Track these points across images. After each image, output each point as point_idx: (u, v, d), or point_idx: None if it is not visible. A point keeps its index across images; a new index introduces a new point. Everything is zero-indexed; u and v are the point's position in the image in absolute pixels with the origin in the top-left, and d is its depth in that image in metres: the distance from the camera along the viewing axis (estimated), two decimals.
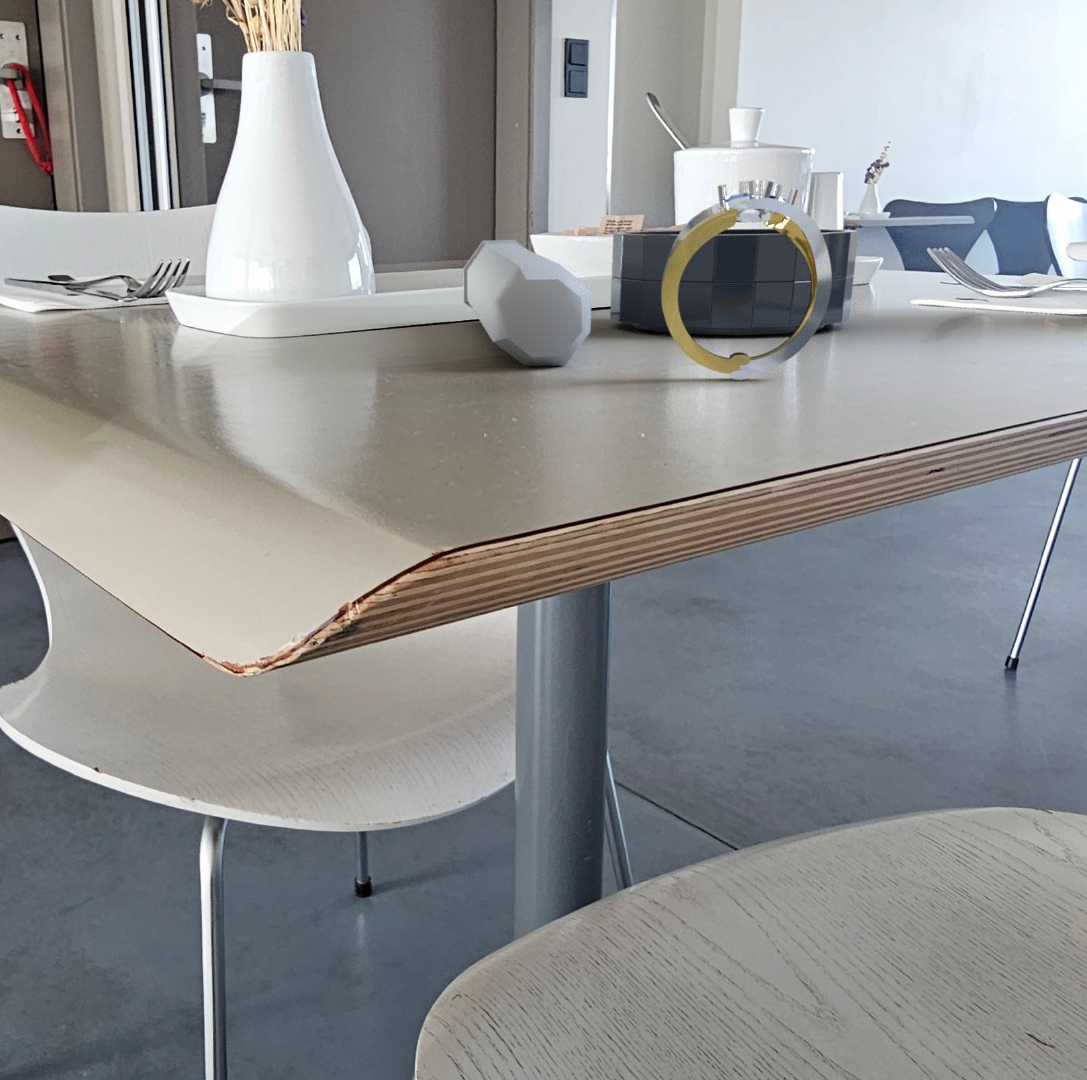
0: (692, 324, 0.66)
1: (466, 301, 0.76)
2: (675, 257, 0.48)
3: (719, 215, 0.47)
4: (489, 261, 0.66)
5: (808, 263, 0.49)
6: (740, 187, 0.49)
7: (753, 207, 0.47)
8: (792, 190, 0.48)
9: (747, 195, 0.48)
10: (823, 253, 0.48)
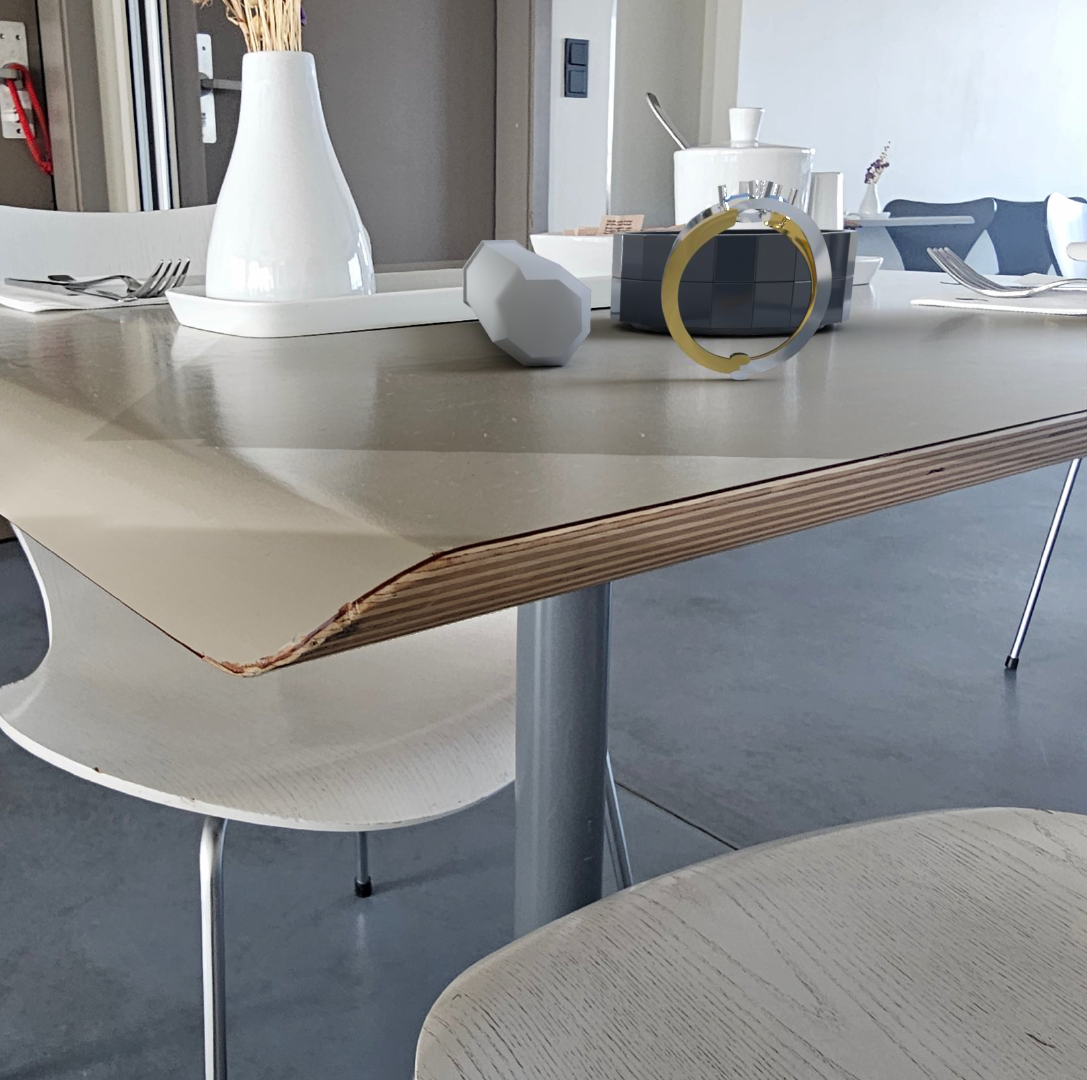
0: (692, 324, 0.66)
1: (465, 301, 0.76)
2: (675, 257, 0.48)
3: (719, 215, 0.47)
4: (488, 261, 0.66)
5: (808, 263, 0.49)
6: (740, 187, 0.49)
7: (753, 207, 0.47)
8: (792, 190, 0.48)
9: (747, 195, 0.48)
10: (823, 253, 0.48)
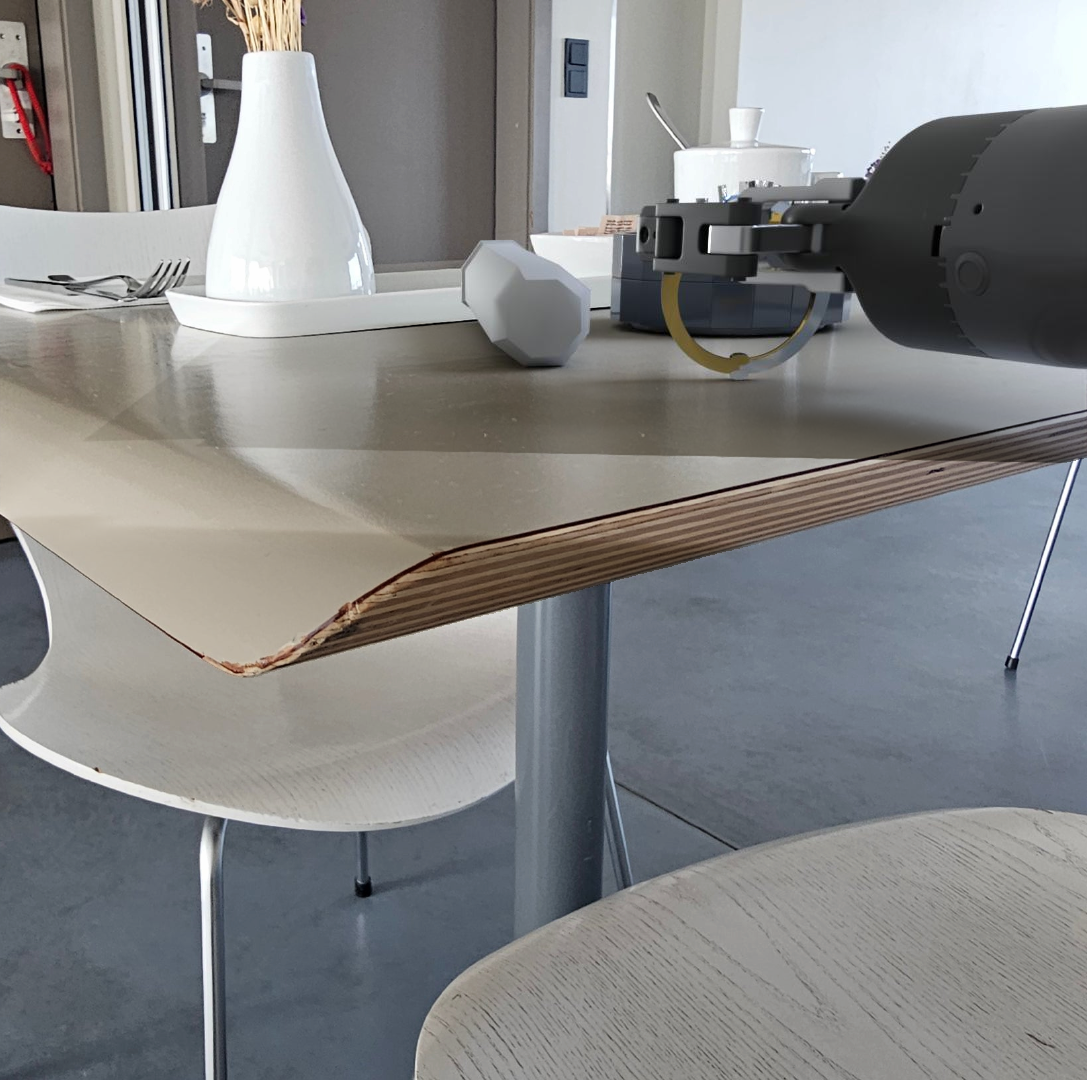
0: (692, 324, 0.66)
1: (464, 301, 0.76)
2: None
3: None
4: (487, 261, 0.66)
5: None
6: (740, 187, 0.49)
7: None
8: None
9: None
10: None
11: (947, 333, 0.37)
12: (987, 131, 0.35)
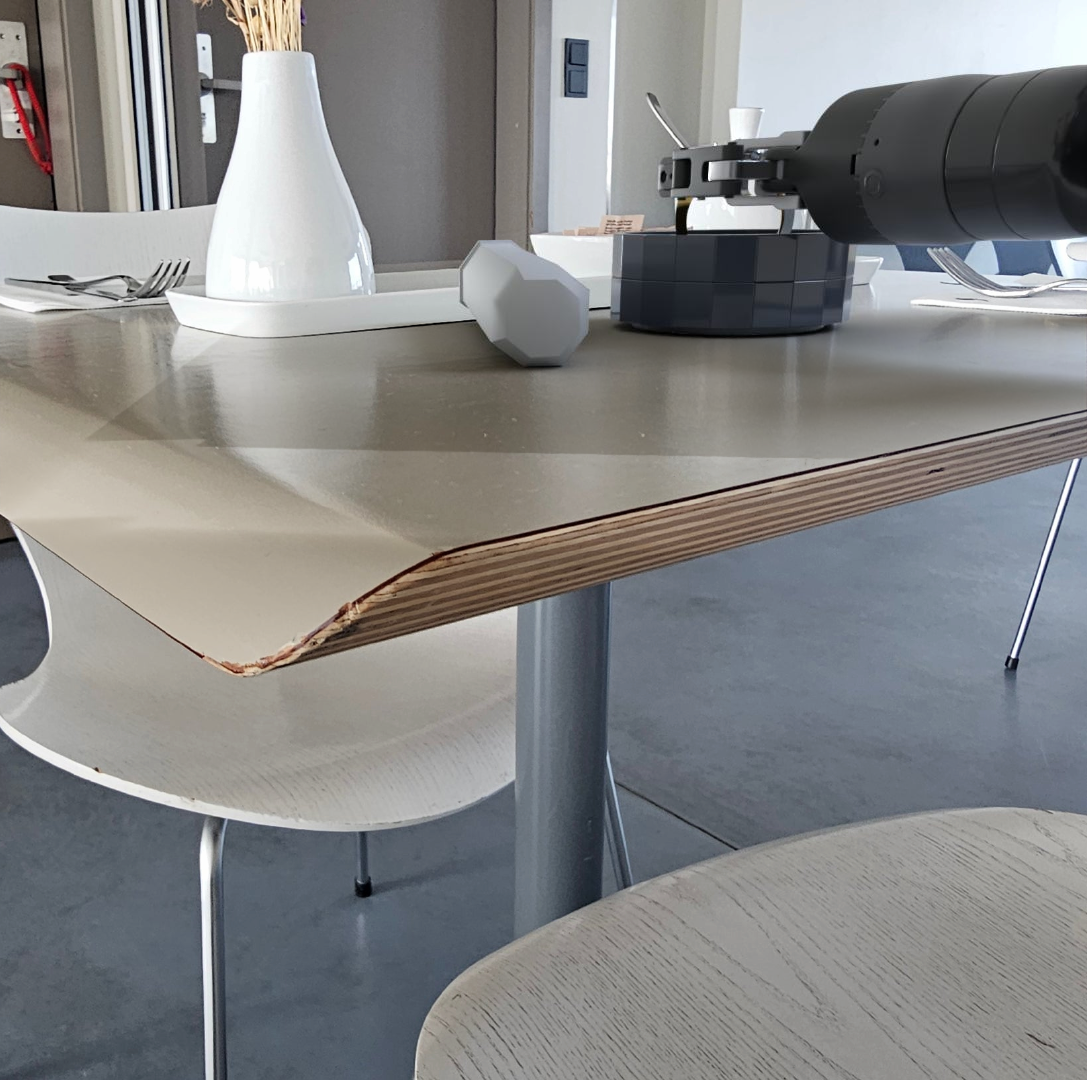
0: (692, 324, 0.66)
1: (462, 301, 0.76)
2: None
3: None
4: (485, 261, 0.66)
5: None
6: None
7: None
8: None
9: None
10: None
11: (863, 226, 0.58)
12: (884, 95, 0.56)
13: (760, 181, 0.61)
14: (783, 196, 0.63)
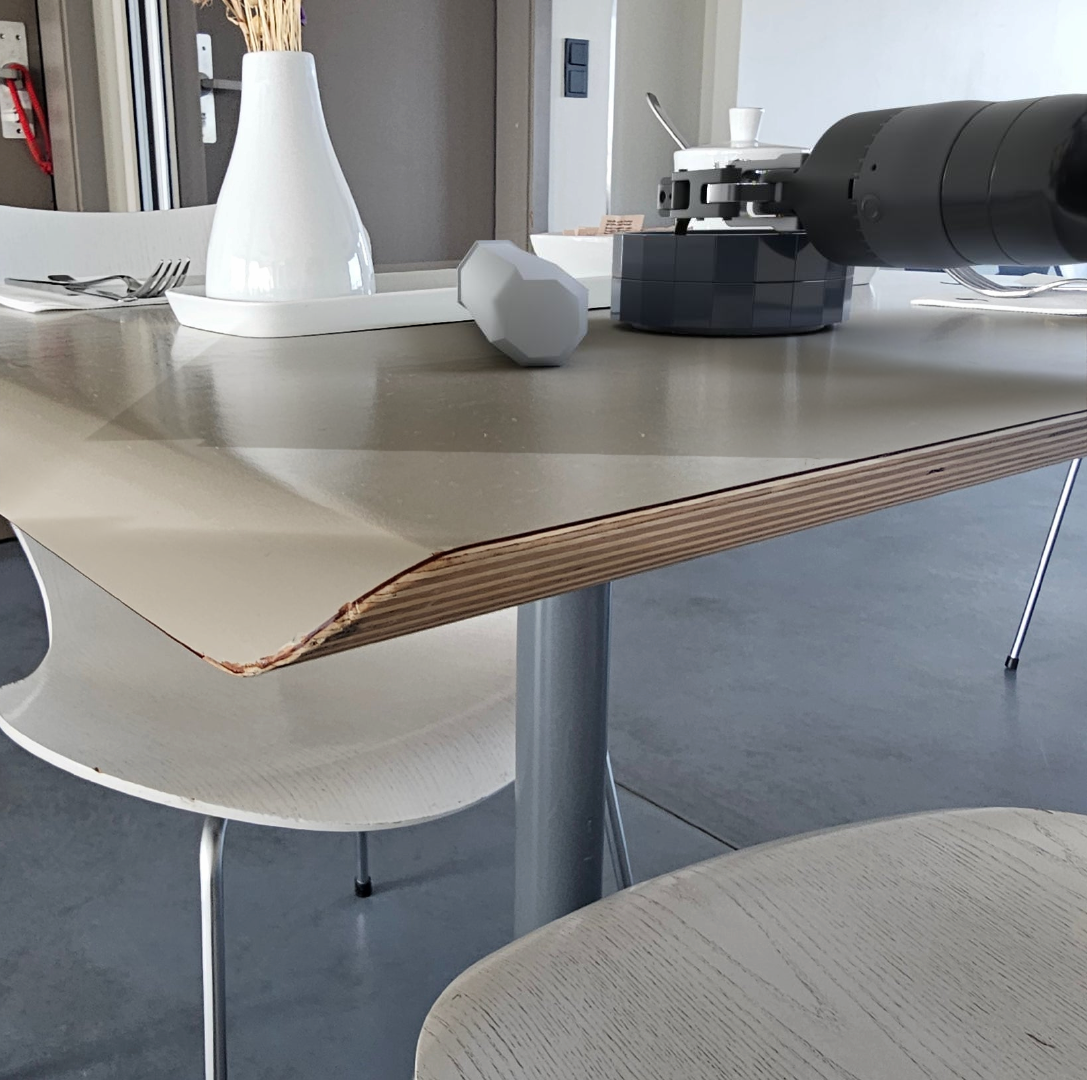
0: (692, 324, 0.66)
1: (460, 301, 0.76)
2: None
3: None
4: (484, 261, 0.66)
5: None
6: (729, 164, 0.70)
7: None
8: None
9: None
10: None
11: (860, 249, 0.58)
12: (881, 120, 0.56)
13: (758, 203, 0.62)
14: (781, 217, 0.63)
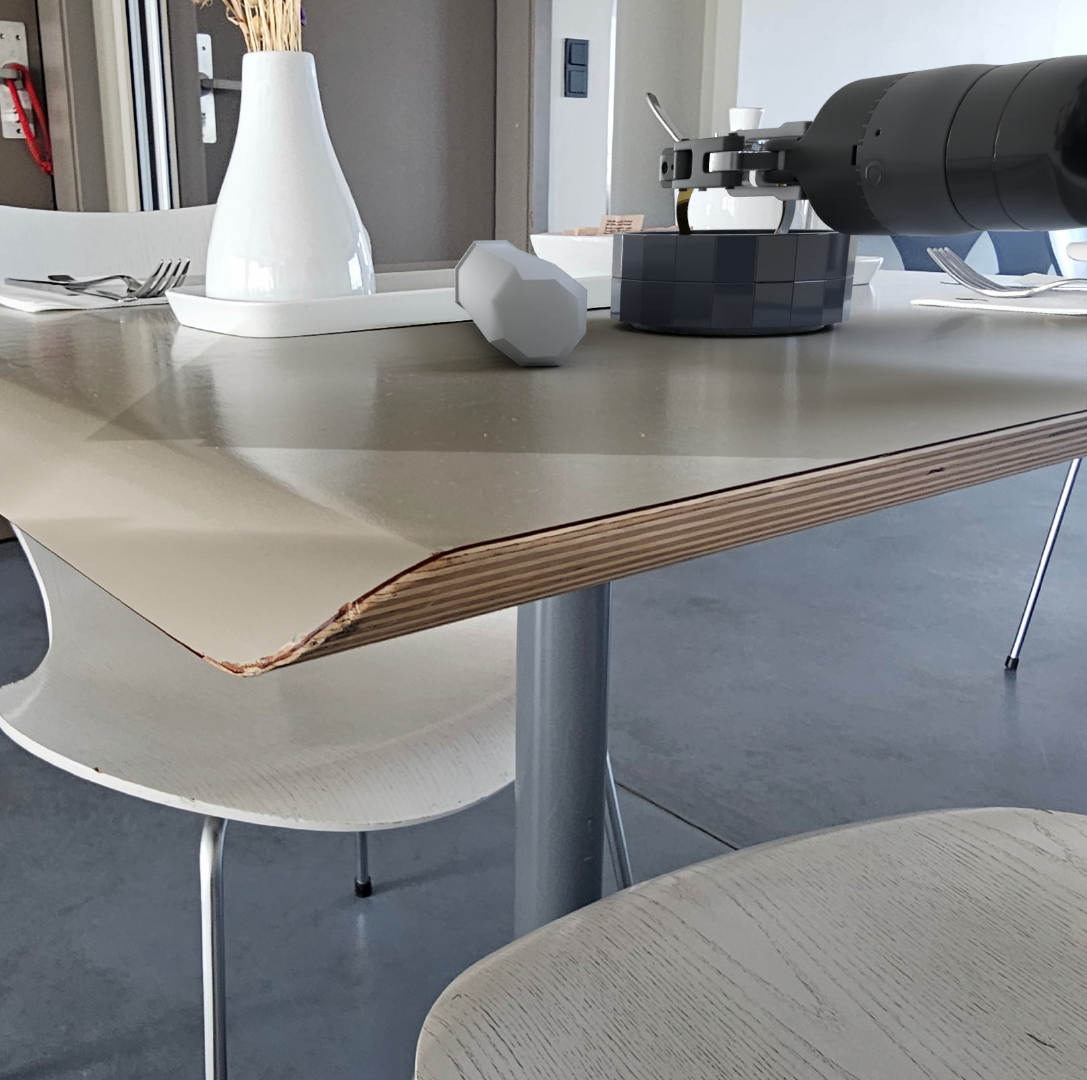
0: (692, 324, 0.66)
1: (457, 301, 0.76)
2: None
3: None
4: (482, 261, 0.66)
5: None
6: None
7: None
8: None
9: None
10: None
11: (864, 217, 0.58)
12: (885, 85, 0.56)
13: (761, 172, 0.61)
14: (784, 187, 0.63)
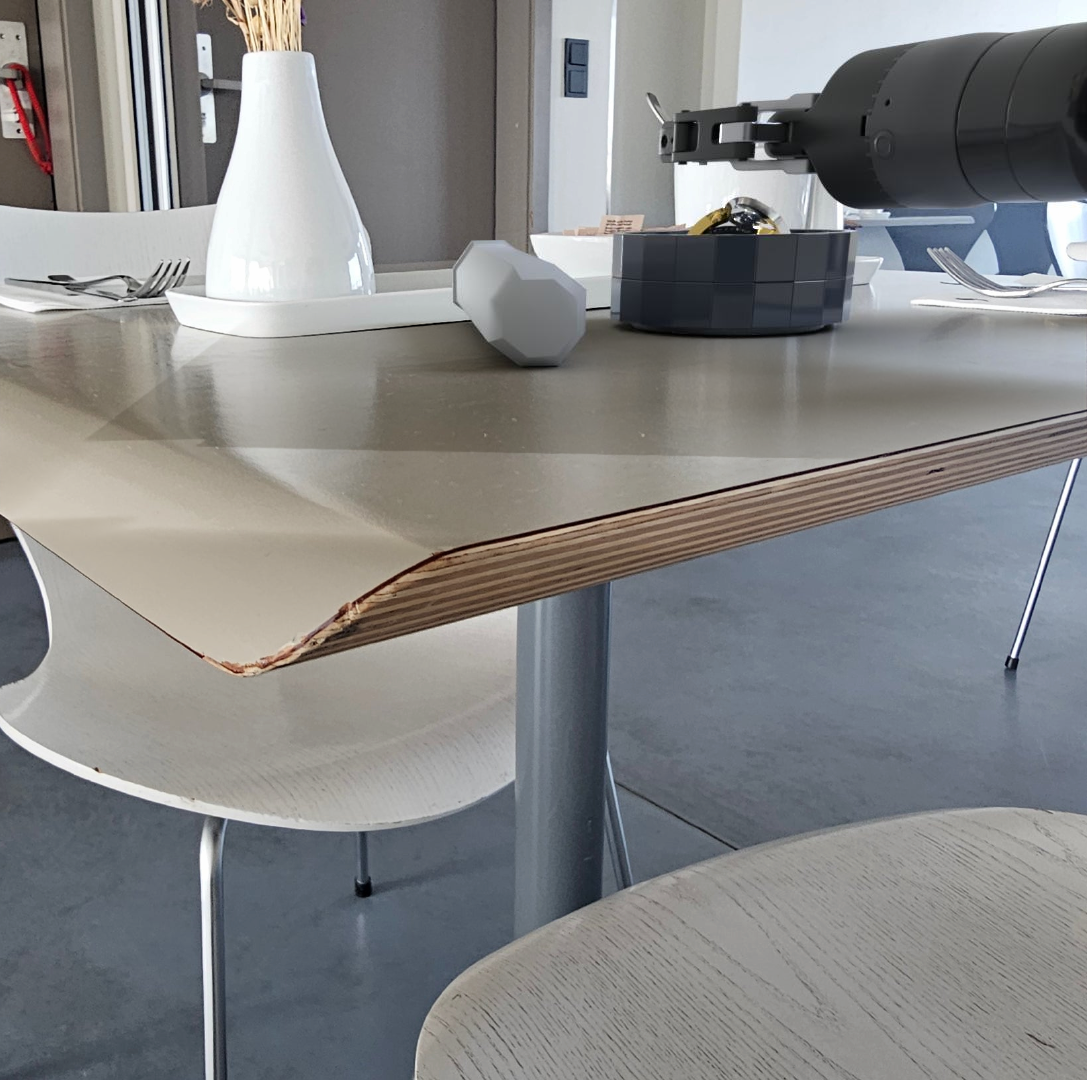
0: (692, 324, 0.66)
1: (455, 301, 0.76)
2: (690, 234, 0.74)
3: (719, 209, 0.74)
4: (480, 261, 0.66)
5: None
6: None
7: (741, 202, 0.73)
8: None
9: None
10: None
11: (873, 189, 0.57)
12: (895, 54, 0.55)
13: (768, 144, 0.61)
14: (792, 160, 0.62)
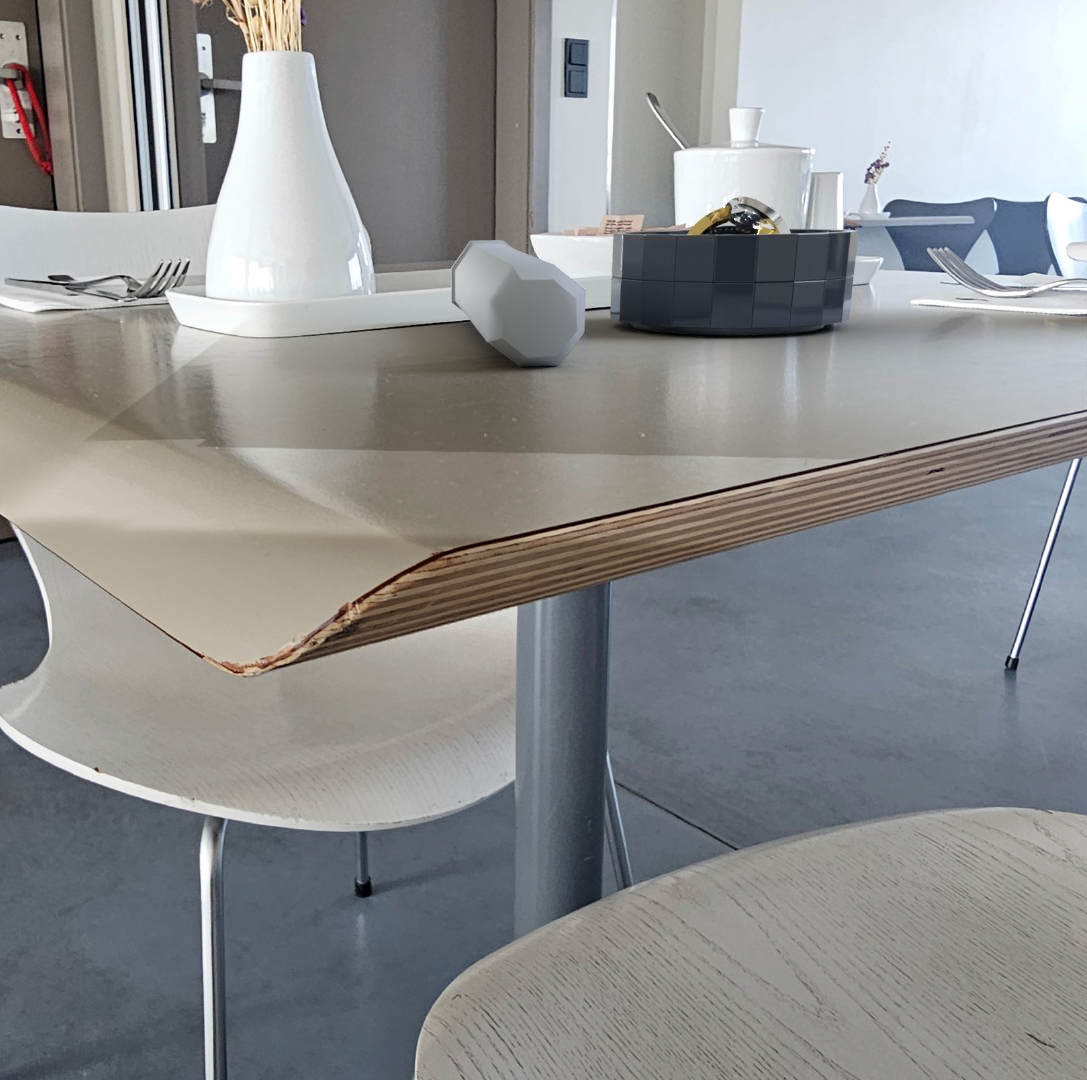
0: (692, 324, 0.66)
1: (454, 301, 0.76)
2: (690, 234, 0.74)
3: (719, 209, 0.74)
4: (479, 261, 0.66)
5: None
6: None
7: (741, 202, 0.73)
8: None
9: None
10: None
11: None
12: None
13: None
14: None
